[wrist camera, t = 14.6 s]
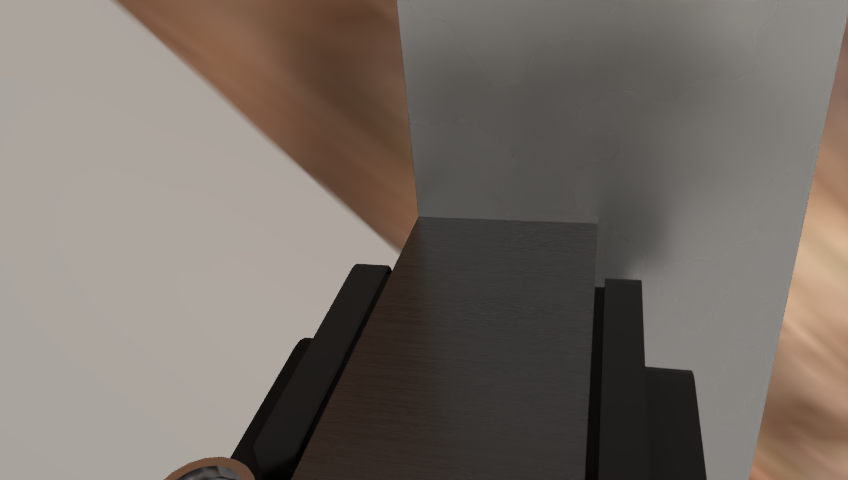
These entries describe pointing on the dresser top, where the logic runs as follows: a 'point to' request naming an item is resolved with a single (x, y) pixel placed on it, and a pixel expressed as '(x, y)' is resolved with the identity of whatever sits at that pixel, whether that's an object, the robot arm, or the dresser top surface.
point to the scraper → (584, 226)
